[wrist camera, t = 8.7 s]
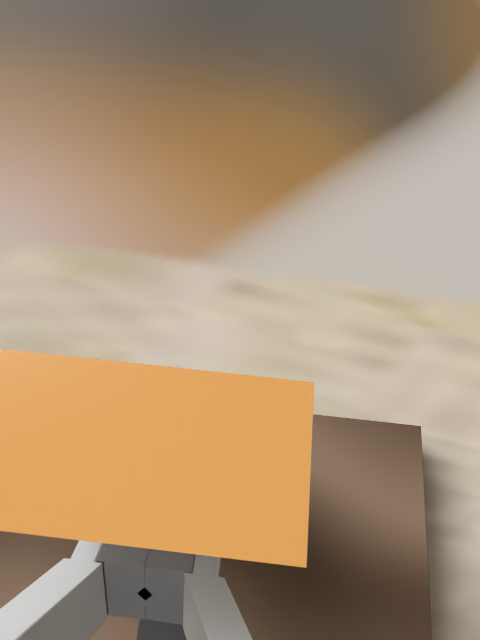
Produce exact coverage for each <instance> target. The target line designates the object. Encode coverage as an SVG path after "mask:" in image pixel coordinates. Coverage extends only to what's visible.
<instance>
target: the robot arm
mask: <svg viewBox="0 0 480 640" xmlns="http://www.w3.org/2000/svg"><path fill="white" fill-rule="evenodd" d="M220 564H221V557H213V556H205V555H197V554H188V553H180V552H172V551H163V550H155V549H147V548H139V547H130V546H122V545H114V544H105V543H97V542H89V541H80V540H79V542H78V544H77V546H76V548H75V550H74V552H73V554H72V556H71V559H67V558H64V559H62V560H61V561H60V562H59V563H57V564H56V565H55V566H54V567H52V568H51V569H50V570H49V571H47V572H46V573H45V574H44V575H42V576H41V577H40V578H39V579H37V580H36V581H35V582H33V583H32V584H31V585H30V586H28V587H27V588H26V589H25V590H23V591H22V592H21V593H20V594H18V595H17V596H16V597H15V598H13V599H12V600H11V601H10V602H8V603H7V604H6V605H5V606H3V607H2V608H1V609H0V640H89V639H90V638H91V637H92V636H93V635H94V634H95V632H96V631H97V630H98V629H99V628H100V627H101V625H102V624H103V623H104V622H105V621H106V620H107V616H117V617H127V618H138V619H148V620H154V621H160V622H167V623H173V624H180V625H183V629H184V633H185V636H186V640H253V639H252V637H251V635H250V633H249V631H248V628H247V626H246V624H245V622H244V620H243V618H242V615H241V613H240V611H239V609H238V607H237V604H236V602H235V600H234V598H233V596H232V594H231V591H230V589H229V587H228V585H227V583H226V580H225V578H223V577H219V573H220Z"/></svg>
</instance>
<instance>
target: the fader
mask: <svg viewBox="0 0 480 640" xmlns="http://www.w3.org/2000/svg"><path fill="white" fill-rule="evenodd" d="M313 400H314V382H304V381H295V380H286V379H276V378H267V377H258V376H248V375H239V374H230V373H220V372H211V371H202V370H193V369H183V368H174V367H165V366H155V365H146V364H137V363H127V362H118V361H109V360H99V359H90V358H81V357H71V356H62V355H53V354H43V353H34V352H25V351H15V350H6V349H0V531H6V532H14V533H22V534H31V535H39V536H47V537H56V538H64V539H72V540H80V541H89V542H97V543H105V544H114V545H122V546H130V547H139V548H147V549H155V550H163V551H172V552H180V553H188V554H197V555H205V556H213V557H221V558H230V559H238V560H246V561H255V562H263V563H271V564H279V565H288V566H296V567H304V568H307V545H308V521H309V497H310V473H311V448H312V424H313Z"/></svg>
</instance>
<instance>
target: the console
mask: <svg viewBox="0 0 480 640" xmlns="http://www.w3.org/2000/svg"><path fill="white" fill-rule="evenodd" d="M78 542H79V540H72V539H64V538H56V537H47V536H39V535H31V534H22V533H14V532H6V531H0V609H1V608H2V607H3V606H5V605H6V604H7V603H8V602H10V601H11V600H12V599H13V598H15V597H16V596H17V595H18V594H20V593H21V592H22V591H23V590H25V589H26V588H27V587H28V586H30V585H31V584H32V583H33V582H35V581H36V580H37V579H39V578H40V577H41V576H42V575H44V574H45V573H46V572H47V571H49V570H50V569H51V568H52V567H54V566H55V565H56V564H57V563H59V562H60V561H61V560H62V559H64V558H67V559H71V556H72V554H73V552H74V550H75V548H76V546H77V544H78ZM219 577H223V578H225V580H226V583H227V585H228V587H229V589H230V591H231V594H232V596H233V598H234V600H235V602H236V604H237V607H238V609H239V611H240V613H241V615H242V618H243V620H244V622H245V624H246V626H247V628H248V631H249V633H250V635H251V637H252V639H253V640H432V636H431V616H430V597H429V577H428V558H427V538H426V519H425V499H424V480H423V460H422V441H421V426H414V425H405V424H395V423H386V422H377V421H368V420H359V419H350V418H341V417H332V416H322V415H313V424H312V448H311V473H310V497H309V521H308V545H307V568H304V567H296V566H288V565H279V564H271V563H263V562H255V561H246V560H238V559H230V558H221V564H220V573H219ZM89 640H186V636H185V633H184V629H183V625H180V624H173V623H167V622H160V621H154V620H148V619H138V618H127V617H117V616H107V620H106V621H105V622H104V623H103V624H102V625H101V627H100V628H99V629H98V630H97V631H96V632H95V634H94V635H93V636H92V637H91V638H90V639H89Z"/></svg>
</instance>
